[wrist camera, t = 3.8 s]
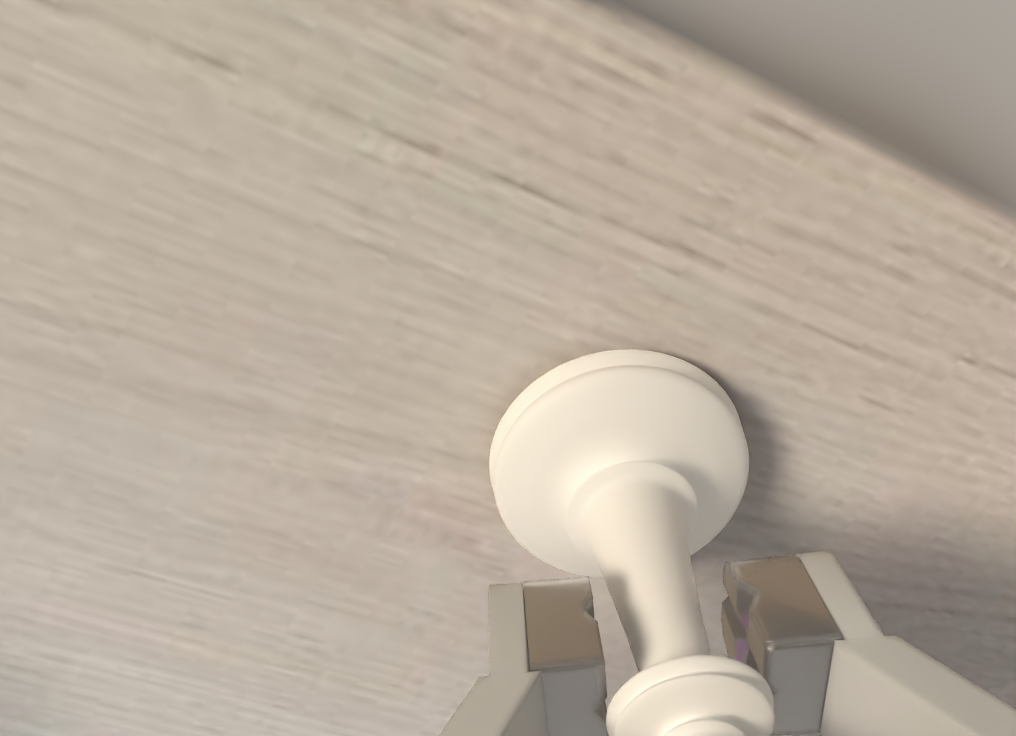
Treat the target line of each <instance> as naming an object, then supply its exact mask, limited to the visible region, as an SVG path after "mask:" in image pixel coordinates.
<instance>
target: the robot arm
mask: <svg viewBox="0 0 1016 736" xmlns="http://www.w3.org/2000/svg"><path fill="white" fill-rule="evenodd" d="M723 583H724V585H725V588H726V591H727V593H728V597H727V598H726V599H725V600H724V602H723V603H722V618H721V621H722V628H723V636H724V641H725V645H726V649H727V652H728V655H729V658H731V659H734V660H737V661H740V662H742V663H744V664H746V665H748V666H750V667H752V668H753V669H755V670H756V671H757V672H758V673H760V674H761V675H762V676H763V678H764V679H765V680H766V681H767V683H768V685H769V686H770V688H771V691H772V694H773V700H774V708H773V710H774V715H775V723H774V728H773V732H772V734H771V735H782V734H796V733H811V732H820V736H1016V709H1015V708H1014V707H1012V706H1011V705H1009V704H1007V703H1006V702H1004V701H1002V700H1001V699H999V698H998V697H996V696H994V695H993V694H991V693H989V692H988V691H986V690H984V689H983V688H981V687H980V686H978V685H976V684H975V683H973V682H971V681H970V680H968V679H967V678H965V677H963V676H962V675H960V674H958V673H957V672H955V671H954V670H952V669H950V668H949V667H947V666H945V665H944V664H942V663H941V662H939V661H937V660H936V659H934V658H932V657H931V656H929V655H927V654H926V653H924V652H923V651H921V650H919V649H918V648H916V647H914V646H913V645H911V644H910V643H908V642H906V641H905V640H903V639H901V638H900V637H898V636H897V635H889V636H885V635H884V633H883V632H882V630H881V628H880V627H879V625H878V624H877V622H876V621H875V619H874V617H873V616H872V614H871V613H870V611H869V610H868V608H867V606H866V605H865V603H864V602H863V600H862V598H861V597H860V595H859V594H858V592H857V591H856V589H855V587H854V586H853V584H852V583H851V581H850V579H849V578H848V576H847V575H846V573H845V572H844V570H843V568H842V567H841V565H840V564H839V562H838V561H837V559H836V557H835V556H834V555H833V554H832V553H831V552H829V551H828V550H827V551H818V552H809V553H801V554H794V555H784V556H775V557H766V558H757V559H748V560H739V561H730V562H726V564H725V567H724V573H723ZM523 587H524V589H523ZM488 625H489V676H483V677H479V678H478V680H477V681H476V683H475V684H474V686H473V687H472V688H471V690H470V691H469V693H468V694H467V696H466V697H465V699H464V700H463V702H462V703H461V704H460V706H459V707H458V709H457V710H456V712H455V713H454V715H453V716H452V718H451V719H450V720H449V722H448V723H447V725H446V726H445V728H444V729H443V731H442V732H441V734H440V735H439V736H609V734H608V731H607V727H606V715H607V710H606V704H605V699H606V698H607V689H606V675H605V661H604V656H603V650H602V645H601V639H600V633H599V628H598V622H597V621H596V620H595V619H594V608H593V595H592V590H591V585H590V581H589V577H577V578H564V579H551V580H538V581H525V582H523V583H509V584H495V585H489V590H488Z"/></svg>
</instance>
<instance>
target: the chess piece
mask: <svg viewBox="0 0 1016 736" xmlns="http://www.w3.org/2000/svg"><path fill="white" fill-rule="evenodd" d="M489 471H490V480H491V485H492V488H493V492H494V495H495V499H496V503H497V507H498V510H499V512H500V515H501V517H502V519H503V521H504V523H505V525H506V527H507V528H508V530H509V531H510V533H511V534H512V535H513V537H514V538H515V539H516V540H517V541H518V542H519V543H520V544H521V545H522V546H523V547H524V548H525V549H526V550H527V551H528V552H530V553H531V554H532V555H534V556H535V557H537V558H538V559H540V560H541V561H543V562H545V563H547V564H549V565H551V566H553V567H555V568H558V569H560V570H563V571H566V572H570V573H573V574H577V575H582V576H588V577H596V578H604V579H605V582H606V584H607V587H608V590H609V592H610V595H611V597H612V599H613V602H614V604H615V607H616V610H617V612H618V615H619V618H620V620H621V623H622V625H623V628H624V630H625V633H626V636H627V638H628V641H629V644H630V648H631V651H632V654H633V657H634V659H635V662H636V665H637V668H638V671H639V673H637V674H636V675H634V676H633V677H632V678H630V679H629V680H628V681H627V682H626V683H624V684H623V685H622V686H621V688H620V689H619V690H618V691H617V692H616V694H615V695H614V697H613V698H612V700H611V702H610V704H609V707H608V710H607V715H606V727H607V731H608V734H609V736H771V734H772V732H773V728H774V723H775V715H774V710H773V708H774V700H773V694H772V691H771V688H770V686H769V685H768V683H767V681H766V680H765V679H764V678H763V676H762V675H761V674H760V673H758V672H757V671H756V670H755V669H753V668H752V667H750V666H748V665H746V664H744V663H742V662H740V661H737V660H734V659H731V658H727V657H722V656H715V655H711V654H710V649H709V645H708V640H707V636H706V632H705V628H704V624H703V620H702V615H701V610H700V605H699V600H698V595H697V590H696V585H695V580H694V574H693V569H692V564H691V558H690V556H691V555H692V554H694V553H695V552H697V551H698V550H700V549H701V548H702V547H704V546H705V545H706V544H708V543H709V542H710V541H711V540H712V539H713V538H714V537H715V536H716V535H717V534H718V533H719V532H720V531H721V530H722V529H723V528H724V527H725V525H726V524H727V523H728V522H729V520H730V519H731V517H732V516H733V514H734V513H735V511H736V509H737V507H738V505H739V503H740V501H741V499H742V497H743V494H744V491H745V488H746V484H747V479H748V473H749V452H748V446H747V441H746V438H745V435H744V432H743V429H742V426H741V422H740V418H739V416H738V413H737V411H736V408H735V406H734V405H733V403H732V401H731V399H730V398H729V396H728V395H727V394H726V392H725V391H724V390H723V388H722V387H721V386H720V385H719V384H718V383H717V382H716V381H715V380H714V379H713V378H711V377H710V376H709V375H708V374H706V373H705V372H704V371H702V370H701V369H699V368H697V367H696V366H694V365H692V364H690V363H688V362H686V361H684V360H682V359H679V358H676V357H674V356H670V355H667V354H663V353H659V352H654V351H647V350H635V349H622V350H610V351H603V352H598V353H593V354H589V355H585V356H582V357H579V358H576V359H573V360H571V361H568V362H566V363H564V364H562V365H559V366H558V367H556V368H554V369H552V370H550V371H549V372H547V373H545V374H544V375H542V376H541V377H539V378H538V379H537V380H535V381H534V382H533V383H531V384H530V385H529V386H528V387H527V388H526V389H525V390H524V391H523V392H522V393H521V394H520V395H519V396H518V397H517V398H516V399H515V400H514V401H513V403H512V404H511V405H510V407H509V408H508V409H507V411H506V412H505V414H504V416H503V417H502V419H501V421H500V423H499V425H498V427H497V430H496V432H495V435H494V438H493V441H492V445H491V450H490V459H489Z"/></svg>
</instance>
